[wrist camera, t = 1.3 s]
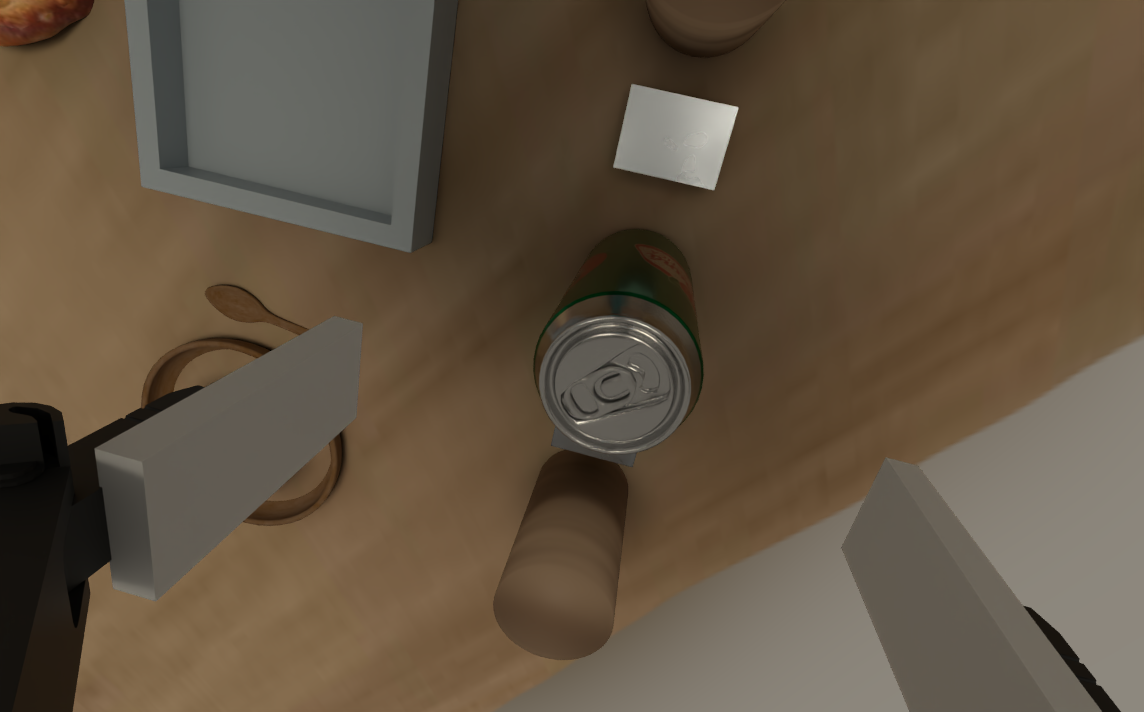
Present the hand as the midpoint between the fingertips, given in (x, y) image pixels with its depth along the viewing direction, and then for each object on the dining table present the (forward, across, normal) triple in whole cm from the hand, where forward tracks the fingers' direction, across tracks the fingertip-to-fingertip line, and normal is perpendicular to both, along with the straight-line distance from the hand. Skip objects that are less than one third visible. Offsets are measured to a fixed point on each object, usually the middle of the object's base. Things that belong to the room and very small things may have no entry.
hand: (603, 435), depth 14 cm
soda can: (+14, 0, 0) cm, 14 cm away
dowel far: (+14, 0, -12) cm, 18 cm away
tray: (+14, -16, +6) cm, 23 cm away
